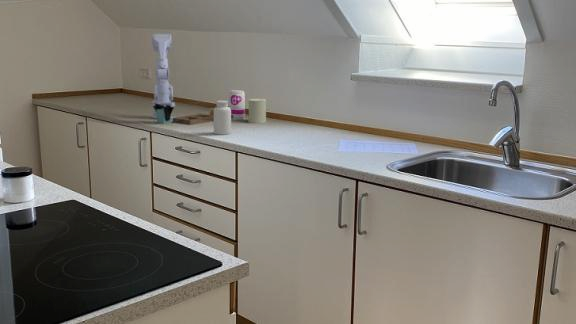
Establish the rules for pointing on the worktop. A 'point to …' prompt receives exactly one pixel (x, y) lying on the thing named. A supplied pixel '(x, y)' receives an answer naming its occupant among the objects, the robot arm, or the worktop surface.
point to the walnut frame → (194, 119)
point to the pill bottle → (222, 118)
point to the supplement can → (237, 104)
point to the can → (257, 110)
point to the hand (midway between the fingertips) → (164, 119)
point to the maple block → (211, 111)
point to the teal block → (162, 117)
